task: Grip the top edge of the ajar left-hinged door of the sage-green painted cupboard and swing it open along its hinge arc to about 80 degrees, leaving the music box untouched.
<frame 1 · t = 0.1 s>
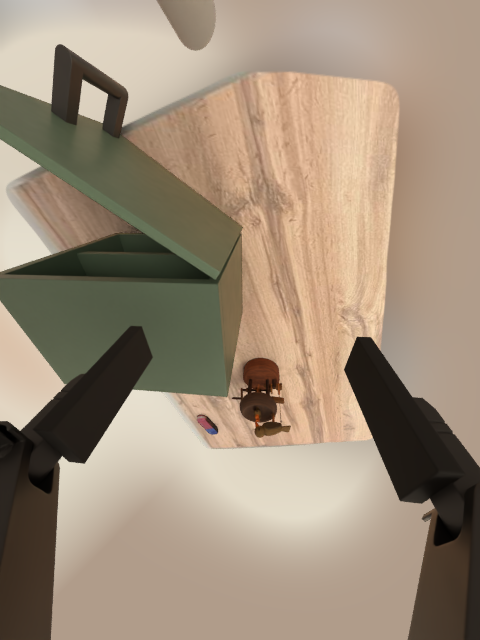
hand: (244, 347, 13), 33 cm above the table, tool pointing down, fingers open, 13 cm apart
cupboard: (184, 275, 46), on the table
eraser: (208, 422, 81), on the table
door: (156, 160, 25), point 12 cm above the table, hinge at 35.0°
music box: (258, 370, 61), on the table
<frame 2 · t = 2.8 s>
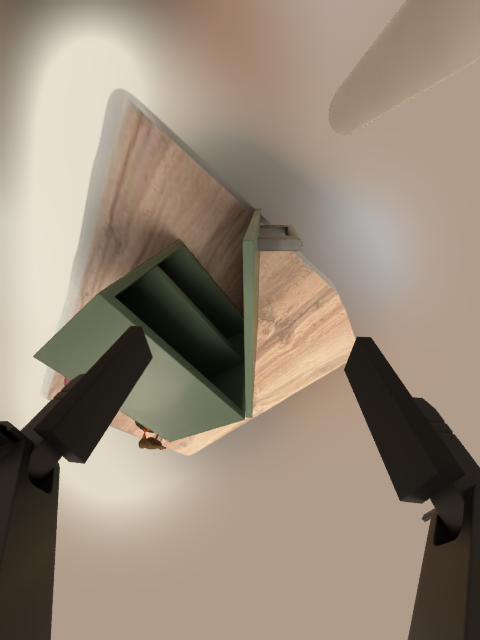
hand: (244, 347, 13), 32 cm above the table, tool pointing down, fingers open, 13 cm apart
cupboard: (193, 306, 50), on the table
eraser: (74, 382, 75), on the table
door: (271, 306, 34), point 12 cm above the table, hinge at 35.0°
music box: (167, 385, 70), on the table
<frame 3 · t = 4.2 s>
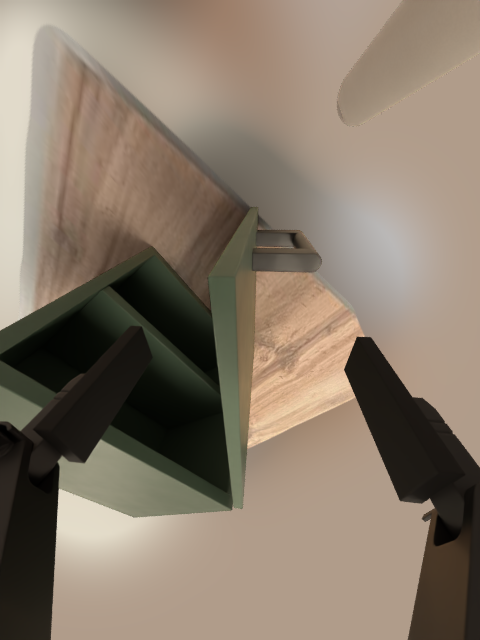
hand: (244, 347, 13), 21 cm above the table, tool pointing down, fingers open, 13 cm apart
cupboard: (174, 328, 40), on the table
door: (271, 343, 24), point 12 cm above the table, hinge at 35.0°
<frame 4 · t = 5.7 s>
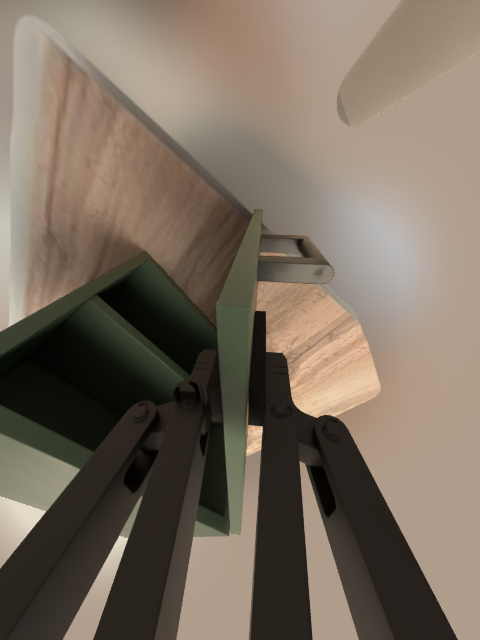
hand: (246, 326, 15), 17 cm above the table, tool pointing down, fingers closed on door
cupboard: (169, 335, 39), on the table
door: (274, 356, 22), point 12 cm above the table, hinge at 36.7°, touching gripper
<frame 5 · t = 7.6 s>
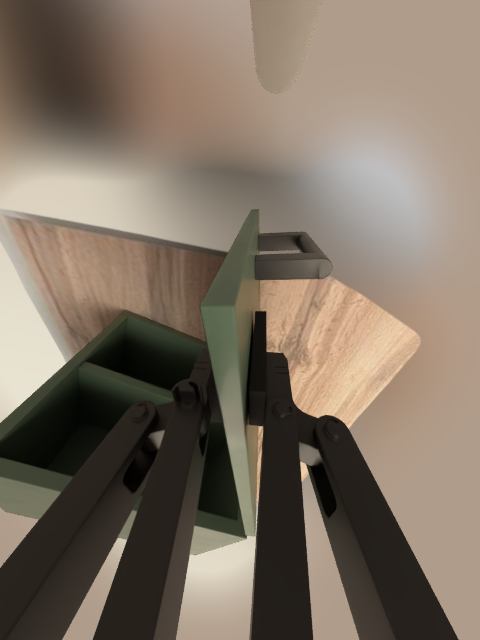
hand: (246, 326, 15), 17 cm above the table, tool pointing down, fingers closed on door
cupboard: (182, 366, 43), on the table
door: (279, 354, 22), point 12 cm above the table, hinge at 62.2°, touching gripper
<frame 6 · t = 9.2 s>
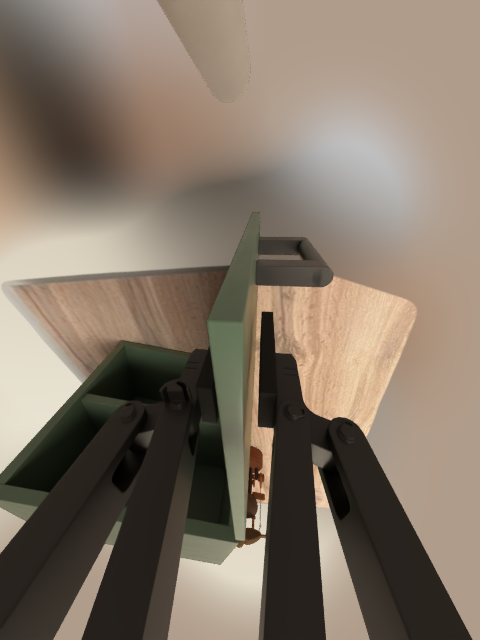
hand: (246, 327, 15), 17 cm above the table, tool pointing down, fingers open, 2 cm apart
cupboard: (186, 381, 45), on the table
door: (275, 359, 22), point 12 cm above the table, hinge at 80.1°
music box: (243, 452, 63), on the table
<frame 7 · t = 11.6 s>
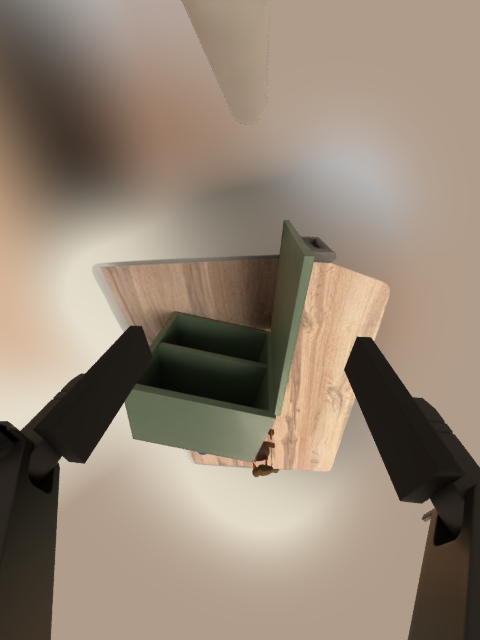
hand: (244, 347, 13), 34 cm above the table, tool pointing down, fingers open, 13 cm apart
cupboard: (219, 346, 59), on the table
eraser: (200, 443, 94), on the table
door: (298, 311, 36), point 12 cm above the table, hinge at 80.1°
music box: (255, 414, 76), on the table
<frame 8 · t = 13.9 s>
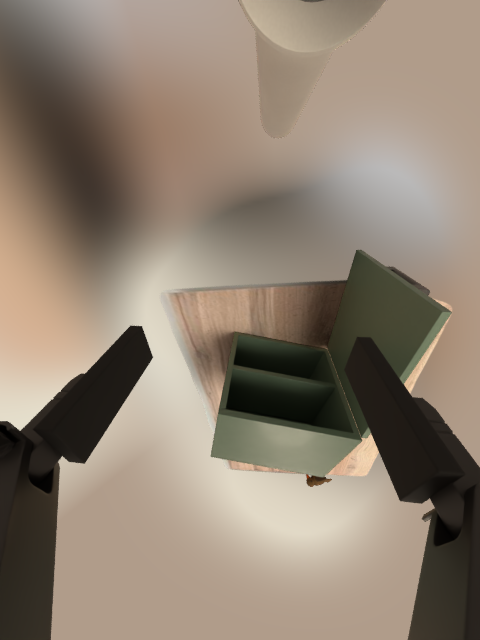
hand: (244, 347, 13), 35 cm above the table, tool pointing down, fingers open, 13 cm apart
cupboard: (273, 362, 61), on the table
door: (377, 338, 38), point 12 cm above the table, hinge at 80.1°
music box: (299, 423, 79), on the table
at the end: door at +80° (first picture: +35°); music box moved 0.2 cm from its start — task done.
